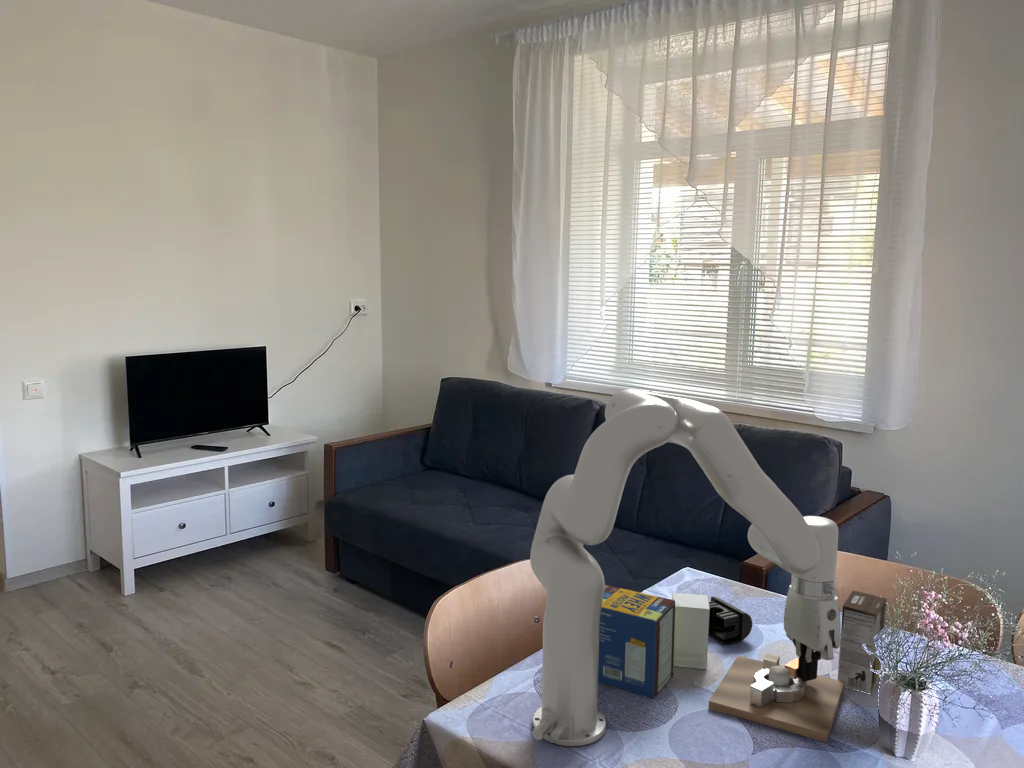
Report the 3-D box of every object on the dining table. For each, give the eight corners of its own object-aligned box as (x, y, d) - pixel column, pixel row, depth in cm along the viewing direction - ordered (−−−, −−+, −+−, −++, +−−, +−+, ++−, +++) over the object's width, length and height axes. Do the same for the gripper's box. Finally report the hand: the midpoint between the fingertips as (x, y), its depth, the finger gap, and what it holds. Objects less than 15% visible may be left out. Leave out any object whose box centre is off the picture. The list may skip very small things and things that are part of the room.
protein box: (601, 655, 162) (603, 583, 160) (673, 676, 155) (677, 600, 152) (578, 677, 154) (580, 601, 151) (654, 700, 146) (657, 620, 144)
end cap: (752, 641, 170) (753, 611, 169) (726, 647, 167) (727, 617, 166) (720, 622, 179) (721, 593, 178) (695, 628, 175) (696, 599, 174)
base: (826, 742, 133) (828, 711, 132) (708, 708, 143) (709, 679, 142) (844, 689, 150) (846, 661, 149) (737, 662, 160) (739, 636, 159)
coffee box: (847, 666, 159) (852, 589, 157) (881, 676, 155) (888, 597, 153) (835, 685, 152) (841, 604, 149) (871, 696, 148) (878, 613, 146)
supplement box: (707, 670, 157) (710, 609, 155) (669, 666, 158) (671, 606, 157) (706, 653, 164) (708, 594, 162) (669, 649, 166) (671, 591, 164)
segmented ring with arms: (776, 714, 138) (777, 697, 138) (734, 695, 144) (735, 678, 144) (821, 684, 148) (822, 668, 148) (780, 667, 155) (780, 652, 154)
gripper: (860, 596, 141) (853, 693, 143) (798, 567, 154) (793, 656, 157) (828, 603, 138) (822, 702, 140) (768, 573, 151) (763, 664, 154)
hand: (807, 678), depth 148 cm, fingers closed
